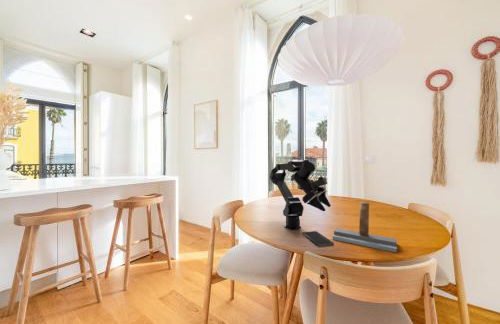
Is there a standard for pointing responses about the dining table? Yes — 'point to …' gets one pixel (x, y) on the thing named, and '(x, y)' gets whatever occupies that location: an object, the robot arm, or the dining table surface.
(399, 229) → the dining table surface
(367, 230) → the walnut dowel
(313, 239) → the phone
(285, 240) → the dining table surface
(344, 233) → the stand
